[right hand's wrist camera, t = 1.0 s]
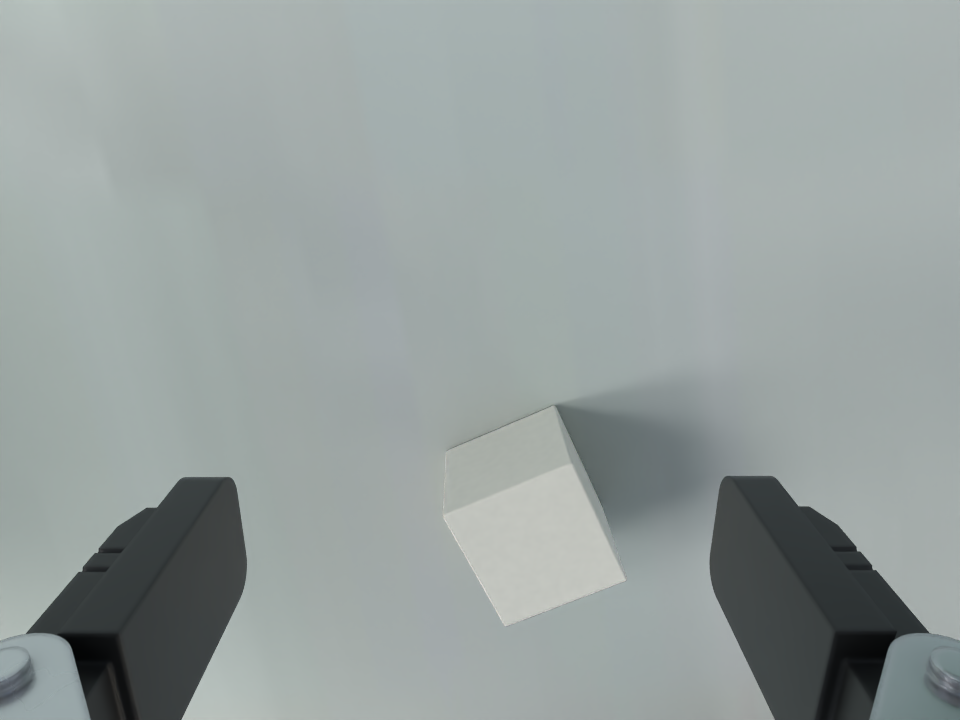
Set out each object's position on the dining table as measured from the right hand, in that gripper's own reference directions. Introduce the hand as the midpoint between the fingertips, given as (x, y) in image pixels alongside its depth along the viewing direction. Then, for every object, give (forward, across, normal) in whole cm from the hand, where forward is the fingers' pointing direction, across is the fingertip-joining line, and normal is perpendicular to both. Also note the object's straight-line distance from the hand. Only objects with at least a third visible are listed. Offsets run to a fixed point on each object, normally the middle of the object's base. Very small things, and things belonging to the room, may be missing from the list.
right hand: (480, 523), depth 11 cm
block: (+14, +2, -8) cm, 16 cm away
